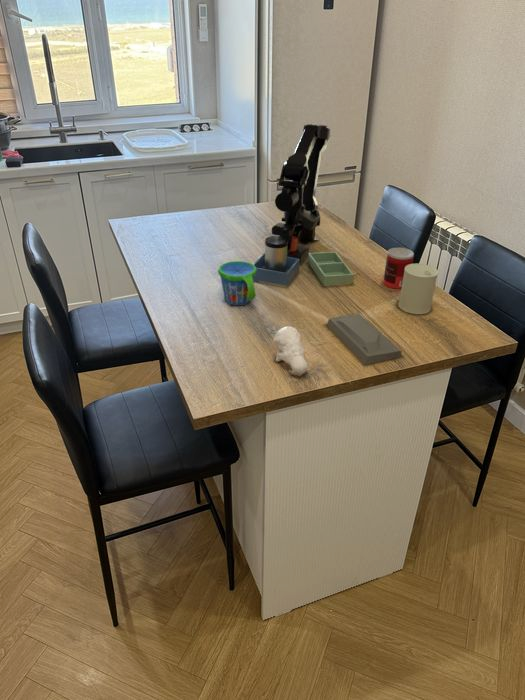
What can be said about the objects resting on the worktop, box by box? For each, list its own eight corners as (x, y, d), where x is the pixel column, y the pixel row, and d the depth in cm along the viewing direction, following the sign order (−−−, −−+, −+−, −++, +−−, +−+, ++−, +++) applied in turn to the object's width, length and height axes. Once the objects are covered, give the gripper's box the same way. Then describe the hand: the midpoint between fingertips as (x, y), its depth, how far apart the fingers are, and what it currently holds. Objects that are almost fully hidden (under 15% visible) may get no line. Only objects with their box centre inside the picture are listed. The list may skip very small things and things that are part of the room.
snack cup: (210, 292, 163) (209, 260, 157) (243, 286, 167) (243, 255, 161) (231, 316, 151) (231, 282, 145) (265, 308, 155) (266, 275, 149)
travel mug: (283, 269, 176) (285, 235, 170) (288, 278, 170) (290, 243, 164) (262, 270, 175) (263, 236, 169) (266, 279, 169) (267, 244, 163)
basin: (263, 265, 180) (263, 252, 177) (299, 272, 176) (299, 258, 174) (249, 280, 170) (249, 267, 167) (287, 287, 166) (287, 273, 164)
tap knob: (287, 246, 186) (287, 234, 184) (298, 248, 185) (299, 235, 183) (283, 250, 183) (284, 238, 181) (294, 252, 182) (295, 240, 179)
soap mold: (365, 364, 132) (367, 352, 130) (326, 325, 148) (327, 314, 146) (401, 356, 136) (403, 344, 134) (359, 319, 151) (361, 307, 149)
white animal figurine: (297, 321, 132) (318, 350, 123) (294, 349, 137) (313, 379, 128) (272, 325, 130) (292, 355, 121) (270, 353, 135) (288, 384, 126)
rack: (307, 263, 182) (308, 252, 180) (334, 261, 184) (335, 251, 182) (323, 287, 167) (324, 276, 165) (352, 285, 169) (354, 274, 167)
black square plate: (281, 250, 191) (281, 241, 189) (308, 254, 188) (309, 246, 186) (271, 260, 183) (272, 251, 181) (300, 265, 180) (300, 256, 179)
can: (412, 317, 153) (420, 278, 146) (391, 303, 159) (397, 265, 153) (437, 310, 156) (446, 271, 150) (416, 296, 163) (423, 259, 157)
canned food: (410, 283, 171) (416, 250, 165) (404, 293, 165) (410, 259, 159) (386, 278, 174) (391, 245, 168) (379, 288, 168) (385, 254, 162)
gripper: (304, 214, 165) (301, 262, 174) (328, 198, 179) (324, 243, 187) (271, 208, 170) (269, 255, 178) (297, 193, 183) (294, 237, 192)
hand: (291, 248), depth 184 cm, fingers closed on tap knob, 4 cm apart
